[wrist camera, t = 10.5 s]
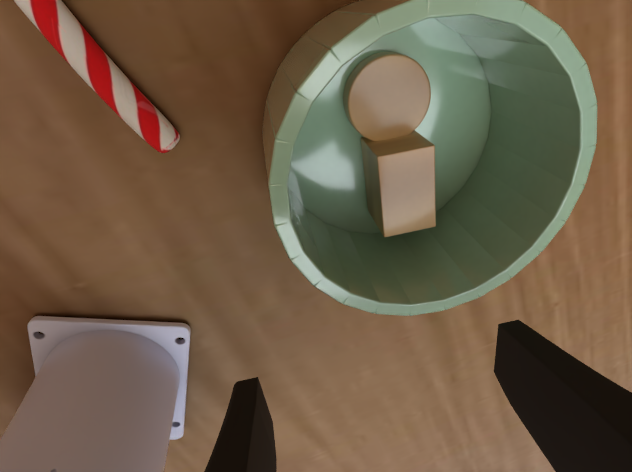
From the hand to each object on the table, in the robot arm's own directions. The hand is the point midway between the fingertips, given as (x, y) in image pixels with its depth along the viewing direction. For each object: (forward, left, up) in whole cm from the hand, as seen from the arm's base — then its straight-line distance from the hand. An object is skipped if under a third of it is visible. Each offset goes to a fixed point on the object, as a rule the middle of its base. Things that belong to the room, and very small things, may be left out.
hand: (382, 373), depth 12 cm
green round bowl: (+5, -2, -10) cm, 12 cm away
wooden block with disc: (+4, -2, -10) cm, 11 cm away
